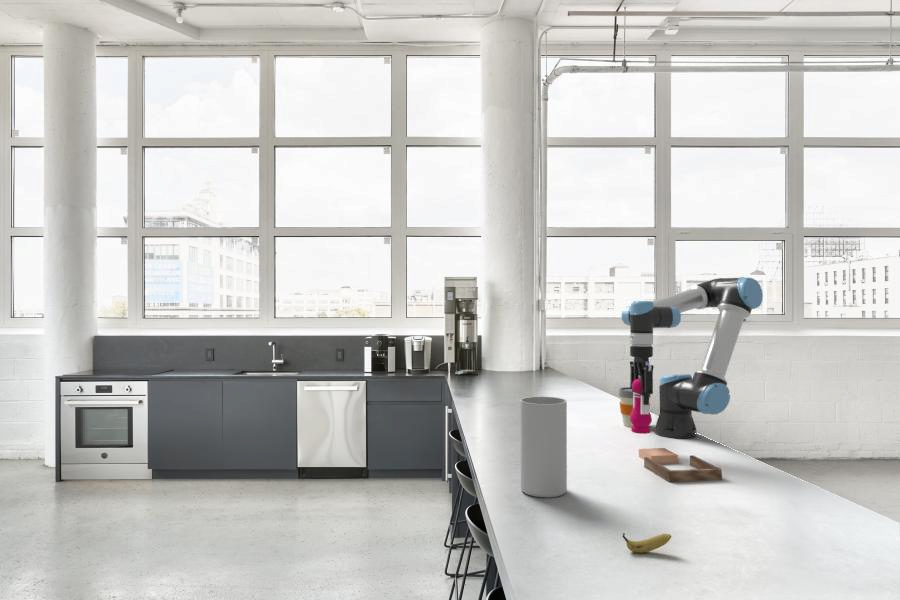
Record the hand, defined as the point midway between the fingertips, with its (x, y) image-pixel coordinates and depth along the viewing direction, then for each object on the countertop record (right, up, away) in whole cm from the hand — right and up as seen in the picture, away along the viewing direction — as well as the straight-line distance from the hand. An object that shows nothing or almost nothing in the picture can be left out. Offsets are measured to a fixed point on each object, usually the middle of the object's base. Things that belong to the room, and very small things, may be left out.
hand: (641, 412), depth 211 cm
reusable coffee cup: (+10, -13, +41) cm, 44 cm away
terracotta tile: (+2, -14, -12) cm, 18 cm away
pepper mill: (0, -7, 0) cm, 7 cm away
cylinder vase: (-40, -14, -43) cm, 61 cm away
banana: (-25, -14, -84) cm, 89 cm away
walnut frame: (+4, -13, -27) cm, 30 cm away
